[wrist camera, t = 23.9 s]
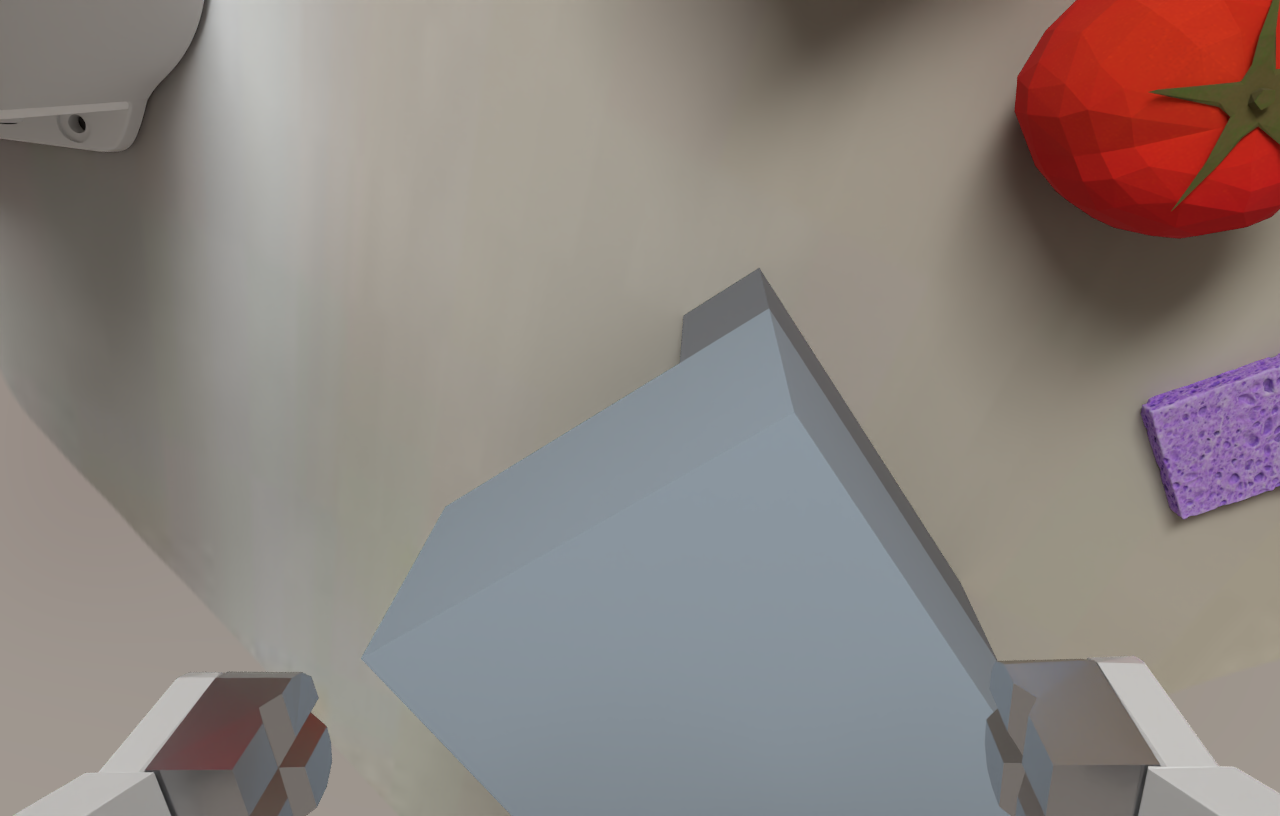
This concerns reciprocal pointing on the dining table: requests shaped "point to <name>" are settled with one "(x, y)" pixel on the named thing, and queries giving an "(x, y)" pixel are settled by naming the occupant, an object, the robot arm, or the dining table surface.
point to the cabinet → (700, 607)
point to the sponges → (1218, 437)
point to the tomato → (1159, 112)
